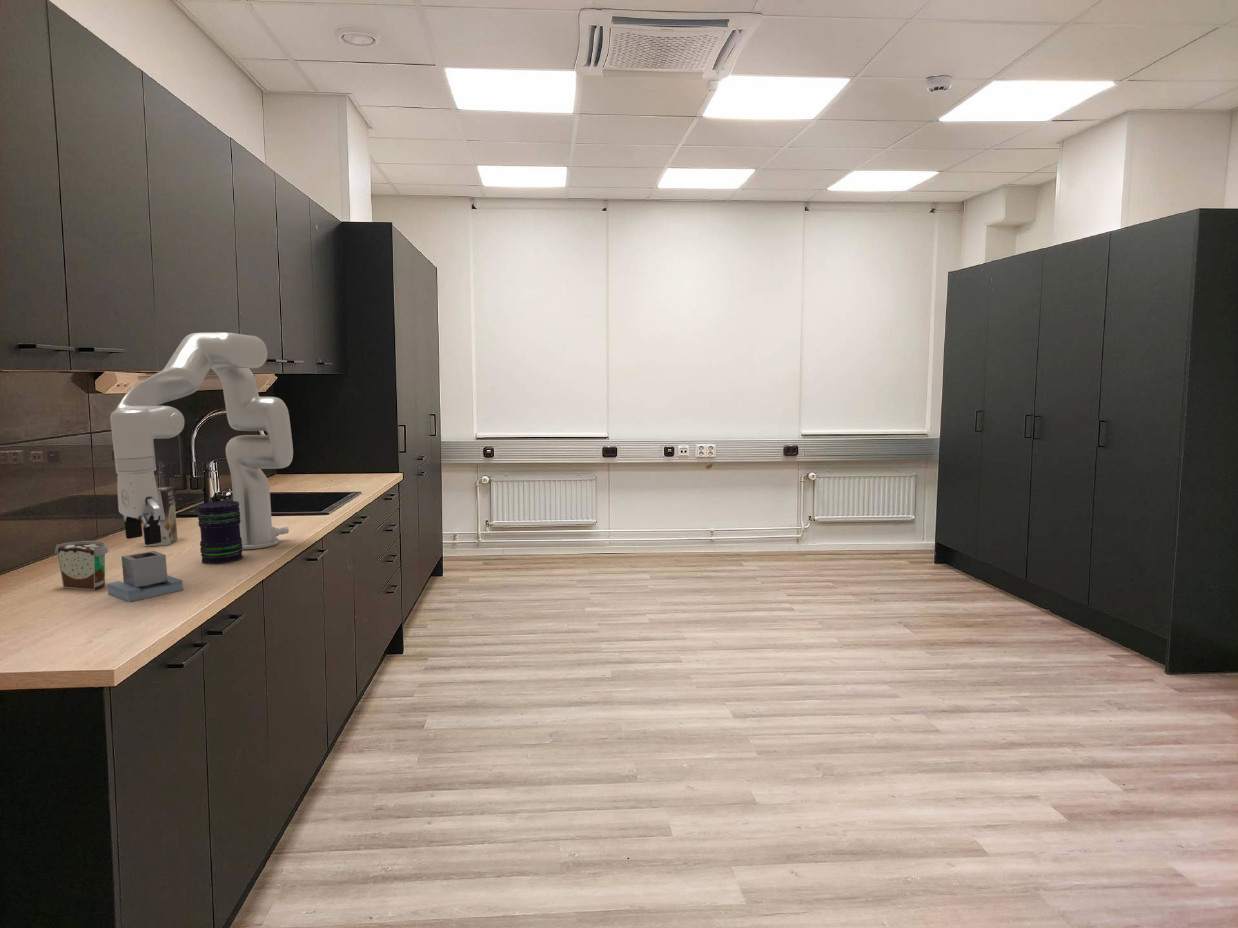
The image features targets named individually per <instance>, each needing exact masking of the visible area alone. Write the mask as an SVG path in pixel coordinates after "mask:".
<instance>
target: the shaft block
mask: <svg viewBox="0 0 1238 928" xmlns="http://www.w3.org/2000/svg"><path fill="white" fill-rule="evenodd" d="M167 578H168V581H165V582H160V583H155V584H150V585H145V586H140V587H133V586H130V585H128V584H126V583H124V581H119V580H118V581H113V582H109V583H107V585H106V586H107V593H108V594H109V595H111V596H113V597H116V598H118V599H121V600H123V601H126V602H128V603H130V602H135V601H141V600H144V599H149V598H152V597H153V598H154V597H158V596H161V595H167V594H172V593H175V592H181V591H183V590H184V589H183V588H184V587H183V585H184V584H183V580H182V579H180V578H177V577H174V576H171V575H168V574H167Z"/></svg>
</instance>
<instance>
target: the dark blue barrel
mask: <svg viewBox="0 0 1238 928" xmlns="http://www.w3.org/2000/svg"><path fill="white" fill-rule="evenodd" d="M197 509H198V511H197V513H198V515H197V520H198V527H199V530H200V531H199V532H200V542H199V545H200V555H201V563H202V564H204V565H224V564H230V563H235V562H238V561H241V560H242V559H243V557H244V556H243V549H242V548H243V546H242V538H241V537H240V523H241V522H240V521H241V520H240V512H239V511H240V509H239V502H237V501H233V500H220V501H211V502H203V503H200V504H197Z"/></svg>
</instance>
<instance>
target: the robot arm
mask: <svg viewBox="0 0 1238 928" xmlns="http://www.w3.org/2000/svg"><path fill="white" fill-rule="evenodd" d="M267 359H268V349H267V346H266V344H265V342H264V340H262V339H261V338H260V337H258V336H257V335H249V334H248V335H247V334H242V333H235V332H225V331H224V332H223V331H222V332H221V331H217V332H207V331H206V332H192V333H190V334H188V335H186V336H185V337H184V338H183V339H182V340H181V341H180V344H179V345H178V346H177V348H176V349H175V351H174V352H173V354H172V356H171V357H170V358H169V360H168V362H167V363H166V365H165V366H164V368H163V369H162V370H161V371H159V372H157V373H154V374H153V375H151V376H149V377H148V378H146V379H145V380H143V381H141V382H139V383H138V384H136V385H134V386H132V388H130V389H129V390H128V391H127V392H126V393H125V395H124V396H123V397H122V399H121V400H120V402H119V403H118V404H117V407H116V408H115V409H114V410H113V411H112V412H111V414H110V417H109V419H110V420H109V421H110V429H111V438H112V439H111V440H112V446H113V454H114V456H113V457H114V465H115V473H116V474H117V478H116V479H117V480H116V483H117V485H116V486H117V487H116V488H117V505H118V506H117V507H118V512H119V513H120V514H121V515H122V517H123V521H124V523H123V524H124V530H125V539H128V540H129V539H136V538H141V537H142V536H143V538H144V539H143V540H144V544H146V545H150V544H156V543H160V542H161V541H162V540H161V531H160V518H161V517H160V507H159V500H158V493H157V487H158V486H157V481H156V475H155V471H157V465H156V455H155V444H154V439H156V440H157V439H159V440H160V439H171V438H174V437H176V436H179V434H180V433H181V432H182V431H183V430H184V427H185V417H184V415H183V413H182V412H181V411H180V410H179V409H177V408H175V407H173V406H169V405H162V404H165V403H168V402H171V401H175V400H178V399H182V398H184V397H187V396H189V395H193V394H194V393H196V392H197V391H198V390H199V389H200V387H201V385H202V383H203V381H204V380H205V378H206V376H207V375H208V373H209V372H210V370H213V372H214V373H215V374H216V376H217V377H218V378H219V380H220V381H221V382H220V383H221V386H222V390H223V391H222V393H223V398H224V404H225V412H226V418H227V422H228V425H229V427H230V428H231V429H233V430H236V431H242V432H243V431H244V432H267V435H265V434H263V435H262V434H244V435H243V434H242V435H236V436H234V437H232V438H230V439H229V440H228V442H227V443H226V446H225V456H226V457H225V458H226V460H227V464H228V468H229V472H230V477H231V478H230V480H231V487H232V488H231V489H232V490H231V491H232V501H237V502H239V509H240V511H239V512H240V520H241V521H240V522H241V523H240V537H241V538H242V546H243V548H242V549H241V550H256V549H263V548H265V549H266V548H269V547H273V546H276V545H278V544H279V542H280V540H279V538H278V537H279V536H280V535H286V534H289V532H290V531H289V530H290V529H289V528H288V527H287V526H285V527H281V528H279V527H275V526H273V523H272V508H271V507H272V506H271V492H270V491H271V490H270V489H271V488H270V487H271V486H270V482H269V480H268V477H267V476H266V475H265V473H264V471H263V470H265V469H266V470H267V469H268V470H270V469H271V470H272V469H275V470H277V469H284V468H287V467H289V466H290V465H291V464H292V462H293V457H294V448H293V447H294V446H293V445H294V444H293V438H292V437H293V436H292V428H291V421H290V414H289V413H290V412H289V409H288V407H287V405H286V403H285V402H284V401H283V399H281V398H280V397H276V396H260V395H259V390H258V386H257V380H256V378H255V375H254V372H252V370H251V369H258V368H261V367H263V365H264V364H265V362H266V361H267ZM148 517H149V520H148V519H147V518H148ZM140 518H141V519H140ZM142 522H143V523H142ZM142 524H143V527H142ZM144 525H145V527H144ZM142 528H143V529H142Z"/></svg>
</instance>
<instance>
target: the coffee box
mask: <svg viewBox="0 0 1238 928" xmlns="http://www.w3.org/2000/svg"><path fill="white" fill-rule="evenodd" d="M157 493H158V500H159V507H160V517H161V518H160V531H161V540H162V541H161V542H160V543H156V544H150V545H146V544H145V543H144V544H145V547H158V546H159V547H160V546H161V547H162V546H163V547H164V546H170V545H171V544H173V543H174V542H175V541H177V540H178V528H177V527H178V525H177V514H176V513H177V512H176V511H177V510H176V501H175V486H157ZM147 519H148V520H149V517H148V518H147ZM143 527H145V525H144V524H143Z"/></svg>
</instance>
